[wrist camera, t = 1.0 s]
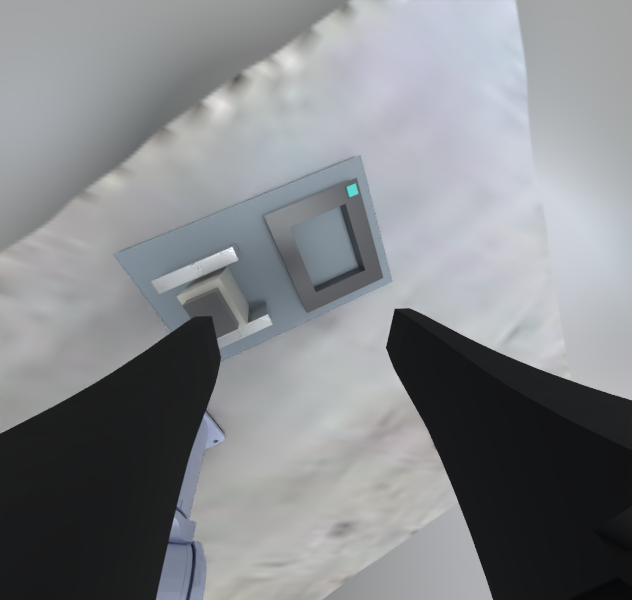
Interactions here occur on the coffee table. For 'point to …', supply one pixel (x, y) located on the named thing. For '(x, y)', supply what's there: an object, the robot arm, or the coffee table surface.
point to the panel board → (261, 254)
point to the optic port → (359, 236)
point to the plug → (217, 301)
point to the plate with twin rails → (192, 270)
